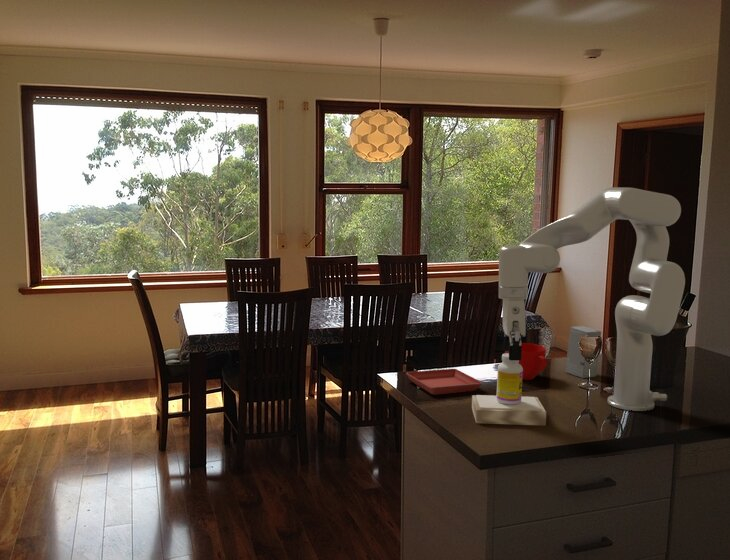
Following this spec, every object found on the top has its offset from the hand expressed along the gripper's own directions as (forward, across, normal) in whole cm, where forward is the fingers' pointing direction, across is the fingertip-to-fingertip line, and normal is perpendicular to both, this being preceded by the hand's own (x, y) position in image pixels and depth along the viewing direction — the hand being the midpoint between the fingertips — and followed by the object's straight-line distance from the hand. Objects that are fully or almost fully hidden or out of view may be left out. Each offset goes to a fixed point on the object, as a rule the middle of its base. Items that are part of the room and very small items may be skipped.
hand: (512, 355), depth 184 cm
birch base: (+17, 0, +1) cm, 17 cm away
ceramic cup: (+18, +38, -11) cm, 44 cm away
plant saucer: (+17, +26, +17) cm, 36 cm away
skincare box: (+19, +46, -30) cm, 57 cm away
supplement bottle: (+13, 0, +1) cm, 13 cm away
